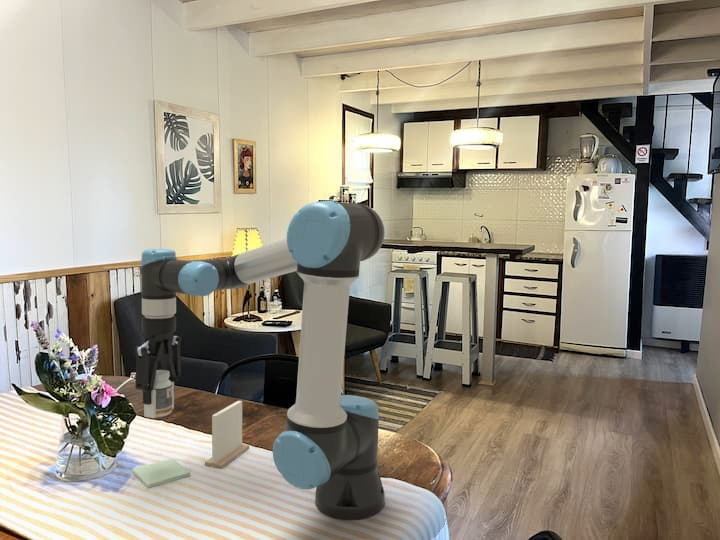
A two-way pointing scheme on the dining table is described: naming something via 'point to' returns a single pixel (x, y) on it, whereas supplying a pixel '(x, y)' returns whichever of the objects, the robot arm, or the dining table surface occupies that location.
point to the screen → (226, 436)
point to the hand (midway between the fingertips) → (159, 412)
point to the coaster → (160, 472)
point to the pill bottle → (163, 393)
